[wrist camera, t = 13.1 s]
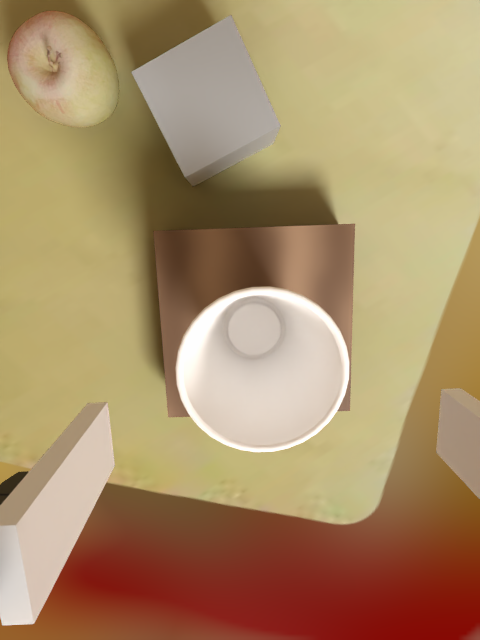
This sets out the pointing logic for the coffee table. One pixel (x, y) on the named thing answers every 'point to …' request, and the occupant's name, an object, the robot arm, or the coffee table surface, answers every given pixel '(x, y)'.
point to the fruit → (63, 70)
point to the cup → (262, 369)
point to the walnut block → (250, 278)
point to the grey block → (209, 102)
